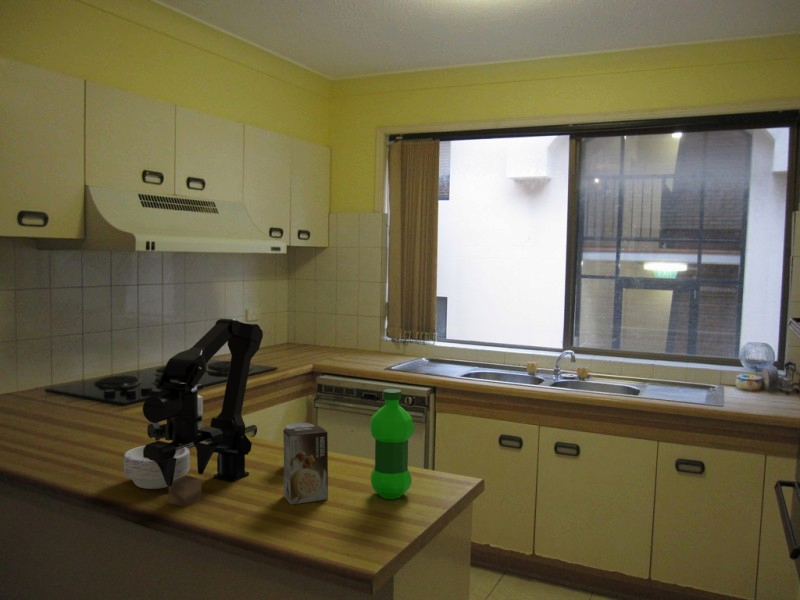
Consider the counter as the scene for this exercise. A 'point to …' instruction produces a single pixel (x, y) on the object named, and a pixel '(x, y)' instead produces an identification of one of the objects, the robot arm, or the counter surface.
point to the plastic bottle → (391, 447)
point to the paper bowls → (152, 468)
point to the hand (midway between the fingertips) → (185, 479)
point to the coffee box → (305, 464)
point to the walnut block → (185, 491)
